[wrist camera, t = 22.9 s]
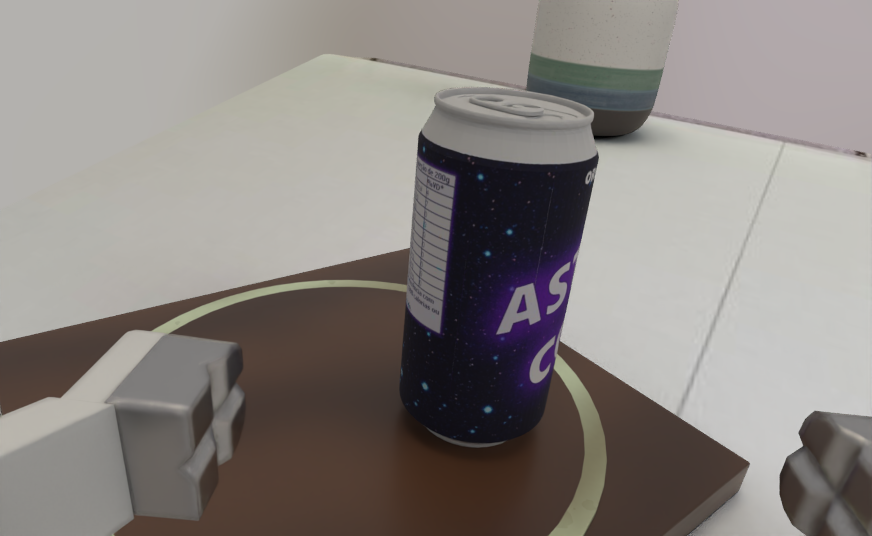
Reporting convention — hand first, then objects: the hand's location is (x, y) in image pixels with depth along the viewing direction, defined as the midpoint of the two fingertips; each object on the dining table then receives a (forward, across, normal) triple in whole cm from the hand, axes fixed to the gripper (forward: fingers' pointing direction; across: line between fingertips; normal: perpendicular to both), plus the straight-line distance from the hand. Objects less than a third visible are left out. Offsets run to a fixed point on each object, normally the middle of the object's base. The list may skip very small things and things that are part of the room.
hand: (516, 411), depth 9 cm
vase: (+76, -15, +12) cm, 78 cm away
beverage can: (+12, 0, +10) cm, 15 cm away
